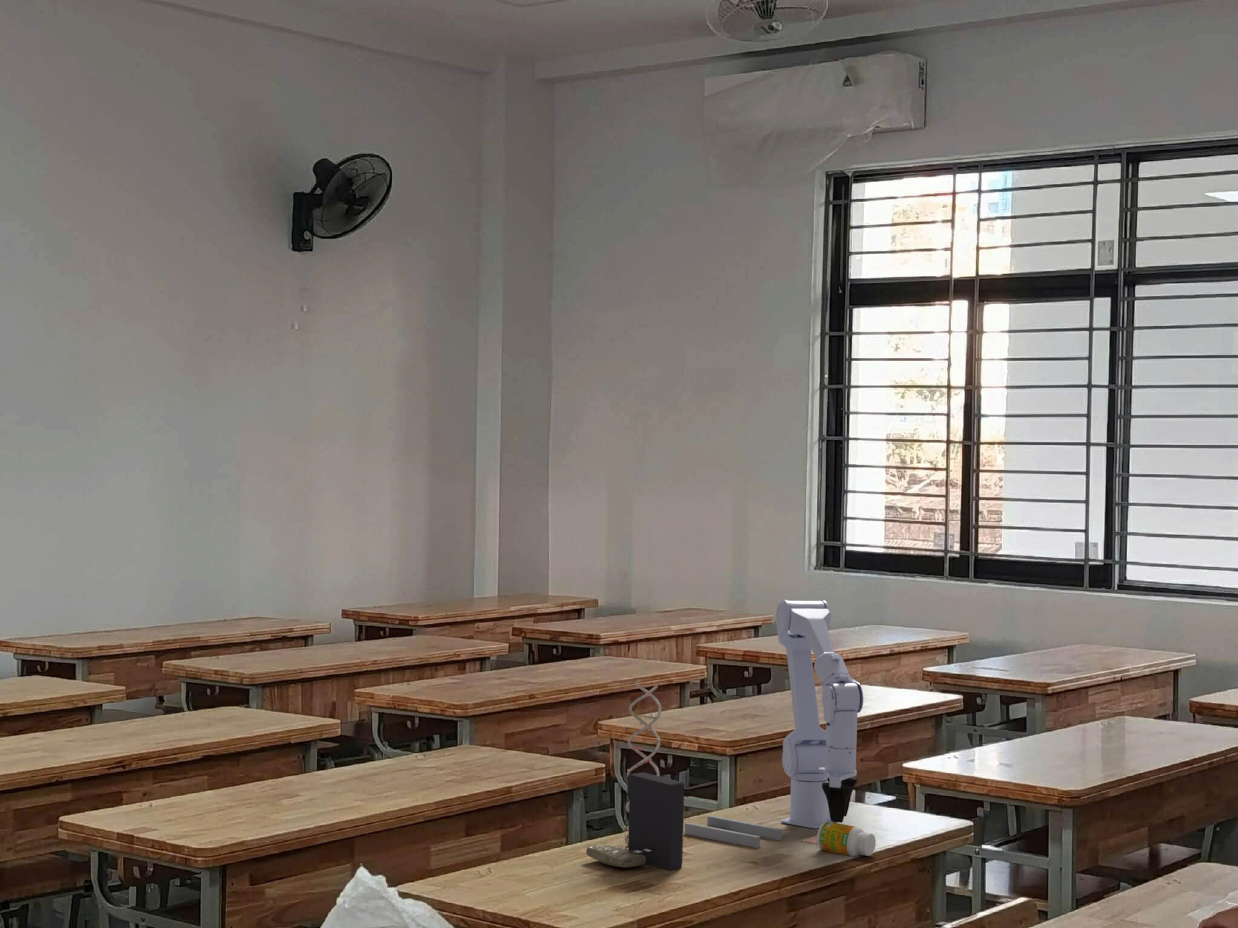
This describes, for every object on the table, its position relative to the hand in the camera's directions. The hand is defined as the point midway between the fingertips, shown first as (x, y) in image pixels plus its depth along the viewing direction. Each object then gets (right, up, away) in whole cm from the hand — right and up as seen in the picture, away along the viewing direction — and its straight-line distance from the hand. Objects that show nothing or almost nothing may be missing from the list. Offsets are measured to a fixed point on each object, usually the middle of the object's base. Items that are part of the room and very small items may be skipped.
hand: (838, 818), depth 292 cm
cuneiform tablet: (-37, -2, -26) cm, 45 cm away
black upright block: (-35, -4, -19) cm, 40 cm away
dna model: (-37, -4, -9) cm, 39 cm away
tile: (0, -4, 0) cm, 4 cm away
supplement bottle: (-4, -2, -6) cm, 8 cm away
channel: (-20, -4, +2) cm, 20 cm away
